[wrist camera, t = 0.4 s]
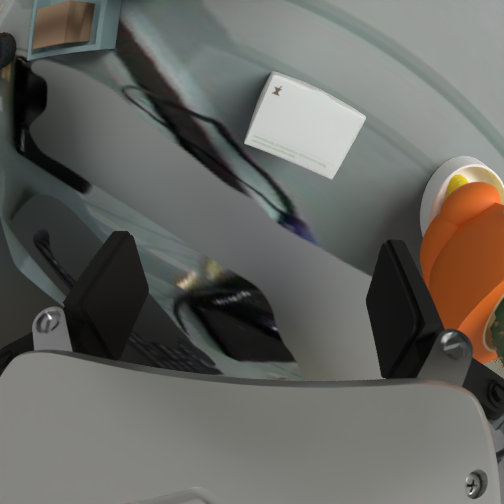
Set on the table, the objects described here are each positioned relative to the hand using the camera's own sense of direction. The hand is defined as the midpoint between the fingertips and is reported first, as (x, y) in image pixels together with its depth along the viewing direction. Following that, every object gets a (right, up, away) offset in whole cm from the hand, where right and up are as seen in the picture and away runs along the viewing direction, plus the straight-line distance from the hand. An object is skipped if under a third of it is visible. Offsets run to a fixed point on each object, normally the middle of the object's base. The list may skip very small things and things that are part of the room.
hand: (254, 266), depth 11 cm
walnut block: (-25, +32, +15) cm, 43 cm away
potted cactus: (+33, +6, +30) cm, 45 cm away
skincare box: (+5, +19, +23) cm, 30 cm away
